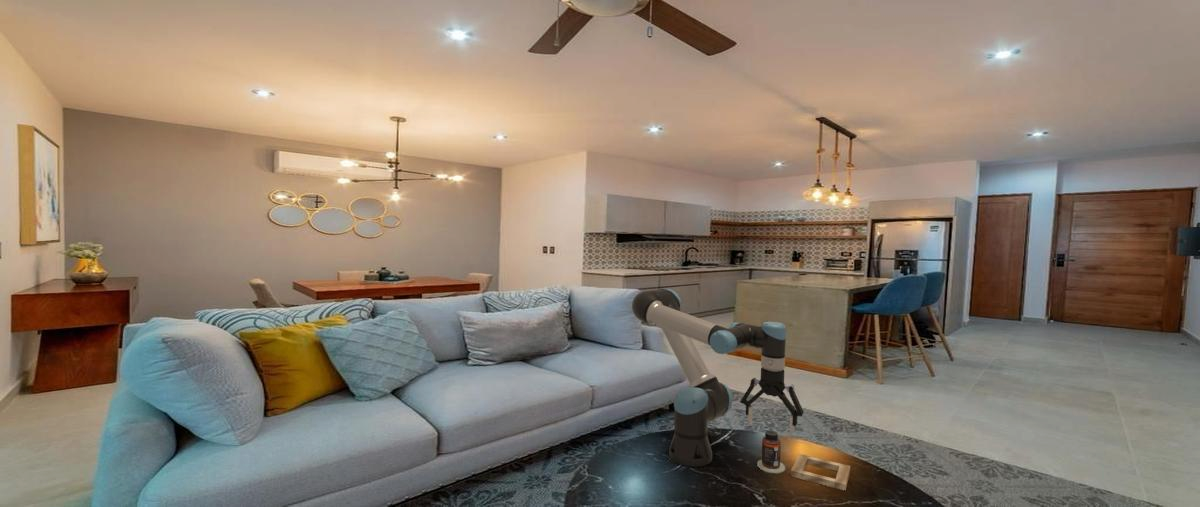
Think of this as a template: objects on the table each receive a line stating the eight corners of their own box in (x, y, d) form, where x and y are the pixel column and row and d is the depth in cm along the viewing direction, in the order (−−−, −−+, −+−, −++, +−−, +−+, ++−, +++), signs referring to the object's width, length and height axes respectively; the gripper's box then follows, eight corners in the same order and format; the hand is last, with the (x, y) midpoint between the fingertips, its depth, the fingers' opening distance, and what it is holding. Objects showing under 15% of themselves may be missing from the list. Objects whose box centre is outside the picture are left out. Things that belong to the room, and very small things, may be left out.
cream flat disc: (754, 468, 162) (754, 467, 162) (761, 458, 169) (761, 456, 169) (781, 476, 157) (781, 474, 157) (787, 465, 164) (787, 463, 164)
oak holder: (790, 476, 157) (791, 470, 157) (799, 459, 168) (799, 453, 168) (845, 490, 148) (845, 484, 148) (850, 471, 160) (850, 465, 160)
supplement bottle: (781, 470, 159) (782, 437, 159) (763, 468, 161) (763, 435, 160) (778, 461, 165) (779, 429, 165) (760, 460, 166) (761, 428, 166)
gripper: (732, 364, 165) (730, 424, 166) (810, 378, 151) (807, 443, 153) (739, 359, 171) (737, 417, 173) (814, 372, 158) (811, 434, 159)
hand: (770, 429), depth 163 cm, fingers open, 13 cm apart
